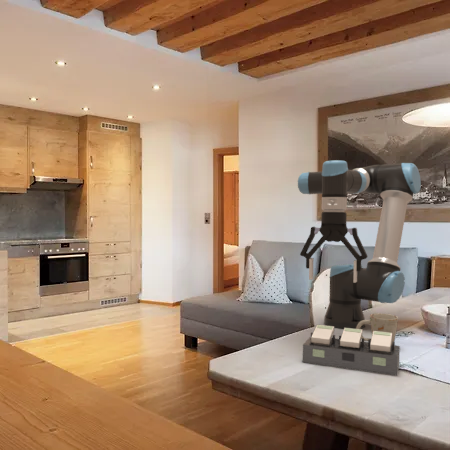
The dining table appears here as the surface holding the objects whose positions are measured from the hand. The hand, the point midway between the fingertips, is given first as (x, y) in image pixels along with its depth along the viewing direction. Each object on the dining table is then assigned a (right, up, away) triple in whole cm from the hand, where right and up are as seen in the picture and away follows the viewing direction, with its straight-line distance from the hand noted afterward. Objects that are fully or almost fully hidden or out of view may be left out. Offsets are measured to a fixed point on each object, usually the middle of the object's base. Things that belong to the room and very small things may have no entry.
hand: (332, 280), depth 143 cm
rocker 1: (-5, -14, -9) cm, 18 cm away
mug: (+15, -22, +4) cm, 27 cm away
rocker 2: (+2, -15, -13) cm, 19 cm away
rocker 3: (+10, -15, -16) cm, 24 cm away
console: (+2, -22, -12) cm, 25 cm away
